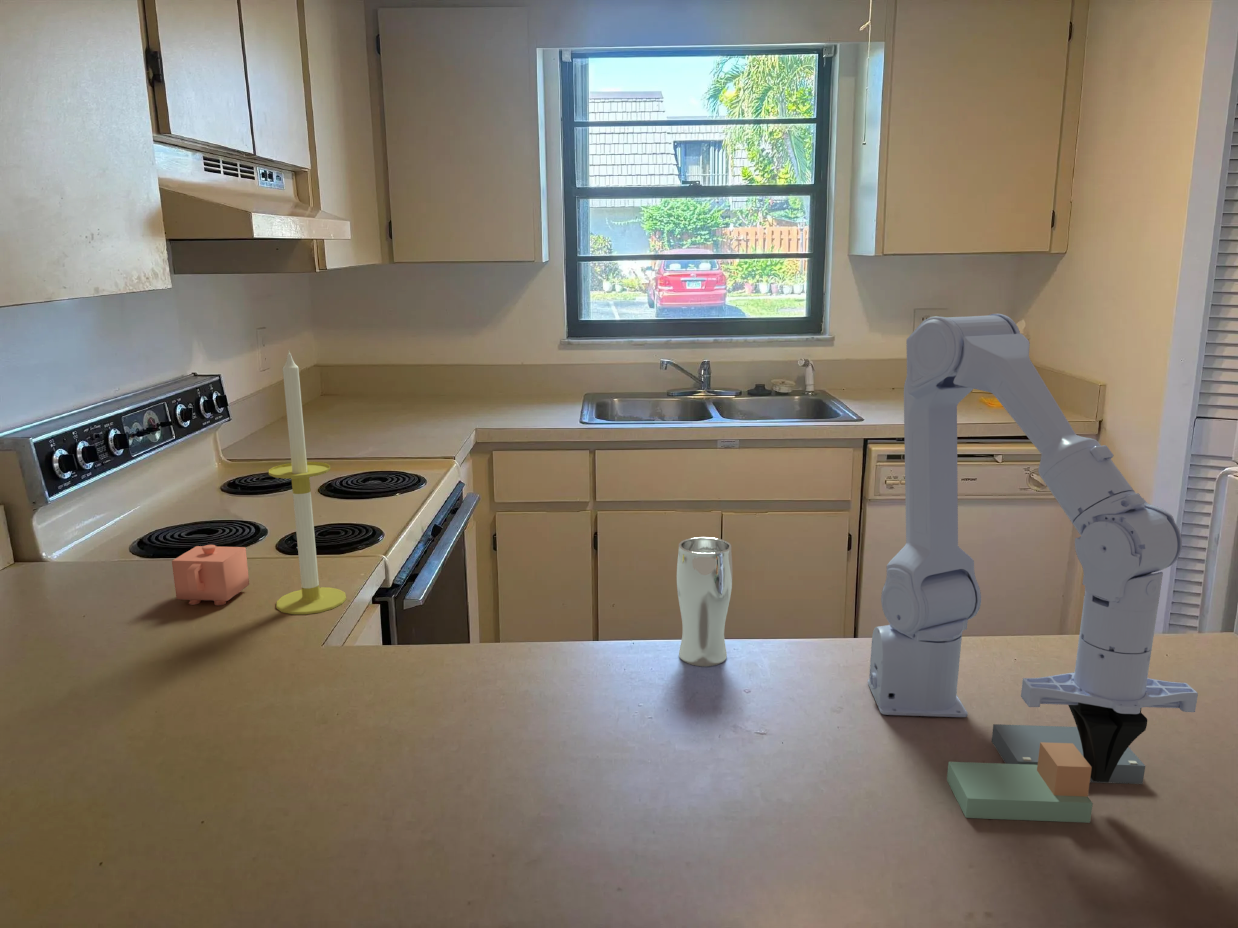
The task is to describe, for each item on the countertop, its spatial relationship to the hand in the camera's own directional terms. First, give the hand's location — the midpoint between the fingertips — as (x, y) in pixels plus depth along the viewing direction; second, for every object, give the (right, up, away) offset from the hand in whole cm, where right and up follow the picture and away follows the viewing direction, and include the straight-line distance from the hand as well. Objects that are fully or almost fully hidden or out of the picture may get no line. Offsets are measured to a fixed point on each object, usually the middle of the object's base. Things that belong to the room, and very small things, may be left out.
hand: (1096, 775), depth 82 cm
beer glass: (-34, +4, +31) cm, 46 cm away
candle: (-90, +8, +50) cm, 103 cm away
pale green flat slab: (-7, -3, +1) cm, 8 cm away
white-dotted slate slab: (+1, -1, +8) cm, 8 cm away
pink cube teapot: (-105, +9, +52) cm, 118 cm away
